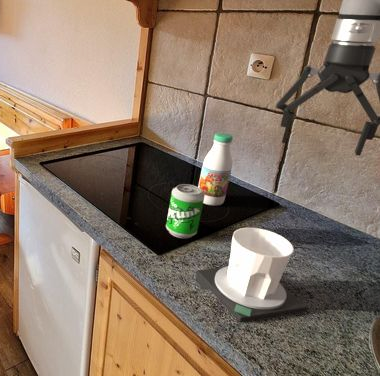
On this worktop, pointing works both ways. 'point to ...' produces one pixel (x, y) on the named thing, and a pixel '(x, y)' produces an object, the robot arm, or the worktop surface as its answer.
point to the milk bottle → (216, 170)
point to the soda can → (185, 210)
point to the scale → (248, 297)
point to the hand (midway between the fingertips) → (319, 147)
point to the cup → (257, 261)
